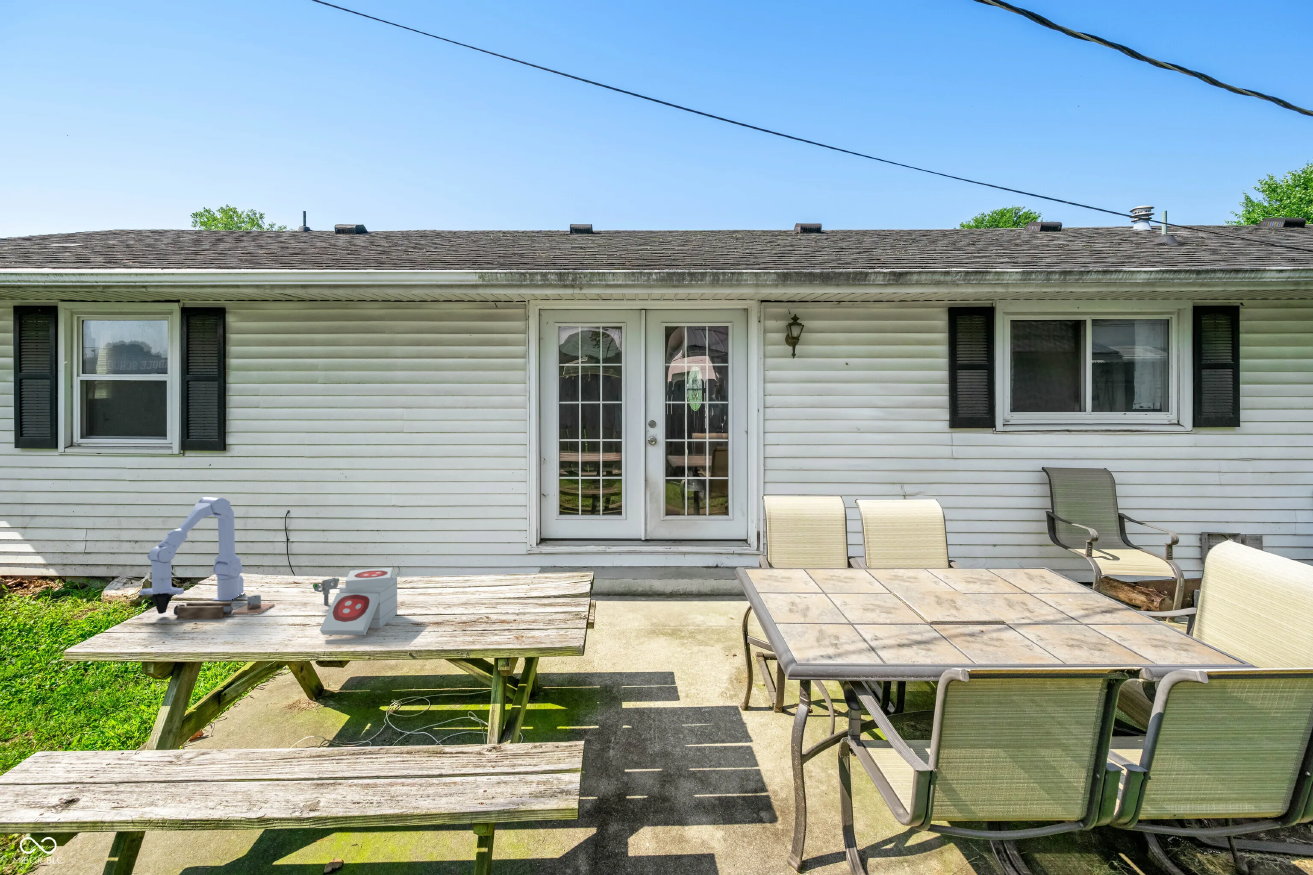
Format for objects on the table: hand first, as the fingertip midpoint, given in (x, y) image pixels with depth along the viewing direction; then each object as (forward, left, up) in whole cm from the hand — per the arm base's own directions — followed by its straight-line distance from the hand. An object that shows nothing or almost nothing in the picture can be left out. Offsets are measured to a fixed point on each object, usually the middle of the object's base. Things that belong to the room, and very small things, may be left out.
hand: (162, 612), depth 223 cm
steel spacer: (-7, +30, -1) cm, 30 cm away
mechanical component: (-13, +55, -2) cm, 56 cm away
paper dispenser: (+12, +80, -2) cm, 81 cm away
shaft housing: (0, +16, -1) cm, 16 cm away
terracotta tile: (-7, +30, -1) cm, 30 cm away
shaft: (0, +16, -1) cm, 16 cm away
